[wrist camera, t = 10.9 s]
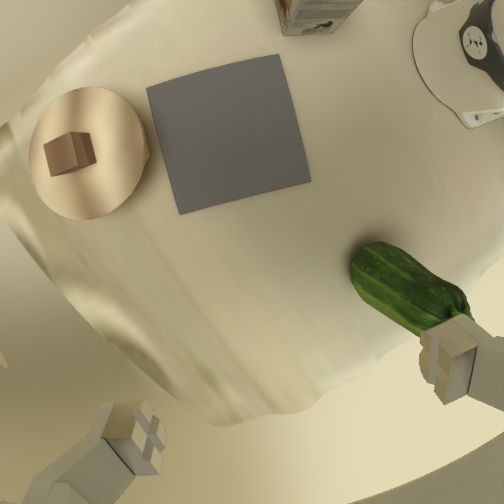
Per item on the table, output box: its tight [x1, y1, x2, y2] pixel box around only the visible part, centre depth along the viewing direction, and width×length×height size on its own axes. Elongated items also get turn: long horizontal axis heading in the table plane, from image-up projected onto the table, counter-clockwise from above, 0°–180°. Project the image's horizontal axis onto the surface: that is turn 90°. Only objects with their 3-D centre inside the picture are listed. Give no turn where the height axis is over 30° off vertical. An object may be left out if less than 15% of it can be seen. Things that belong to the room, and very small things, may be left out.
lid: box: [29, 87, 147, 220], centre depth 25 cm, size 13×13×5 cm
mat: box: [146, 54, 311, 215], centre depth 33 cm, size 15×15×1 cm
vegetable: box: [351, 242, 475, 337], centre depth 29 cm, size 7×7×20 cm
